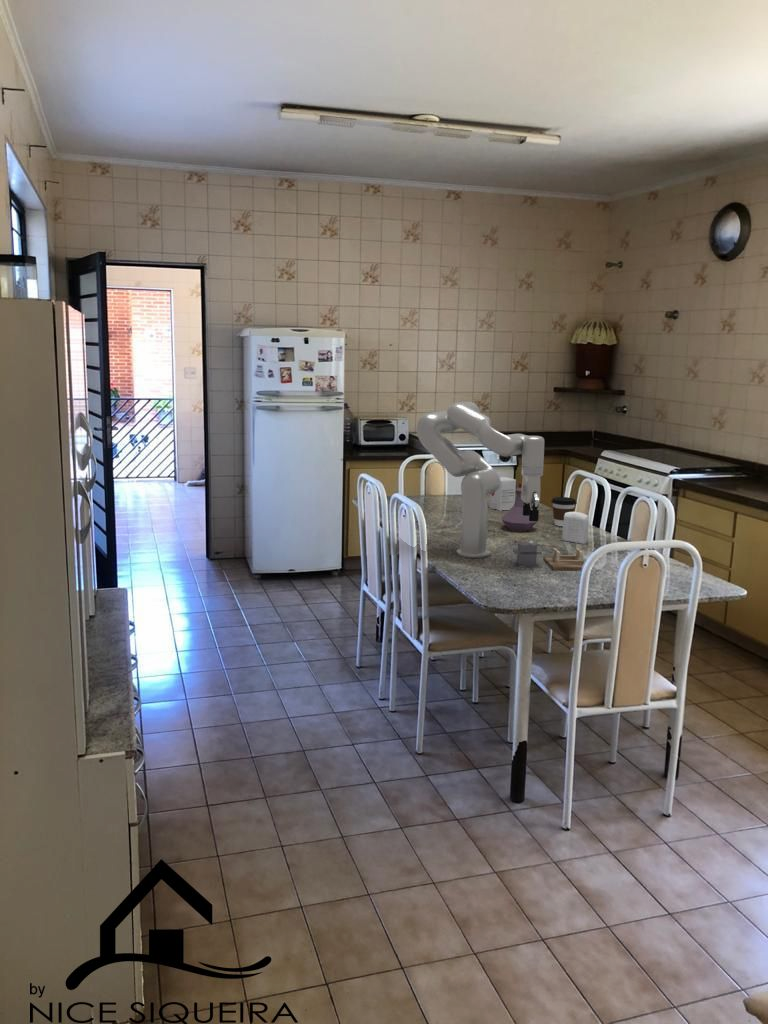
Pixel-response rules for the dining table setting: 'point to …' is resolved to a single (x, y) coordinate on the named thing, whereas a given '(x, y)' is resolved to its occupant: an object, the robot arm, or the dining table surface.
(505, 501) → the supplement box
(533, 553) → the servo block
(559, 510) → the coffee cup
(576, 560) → the dock
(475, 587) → the dining table surface
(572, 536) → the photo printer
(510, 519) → the flask
